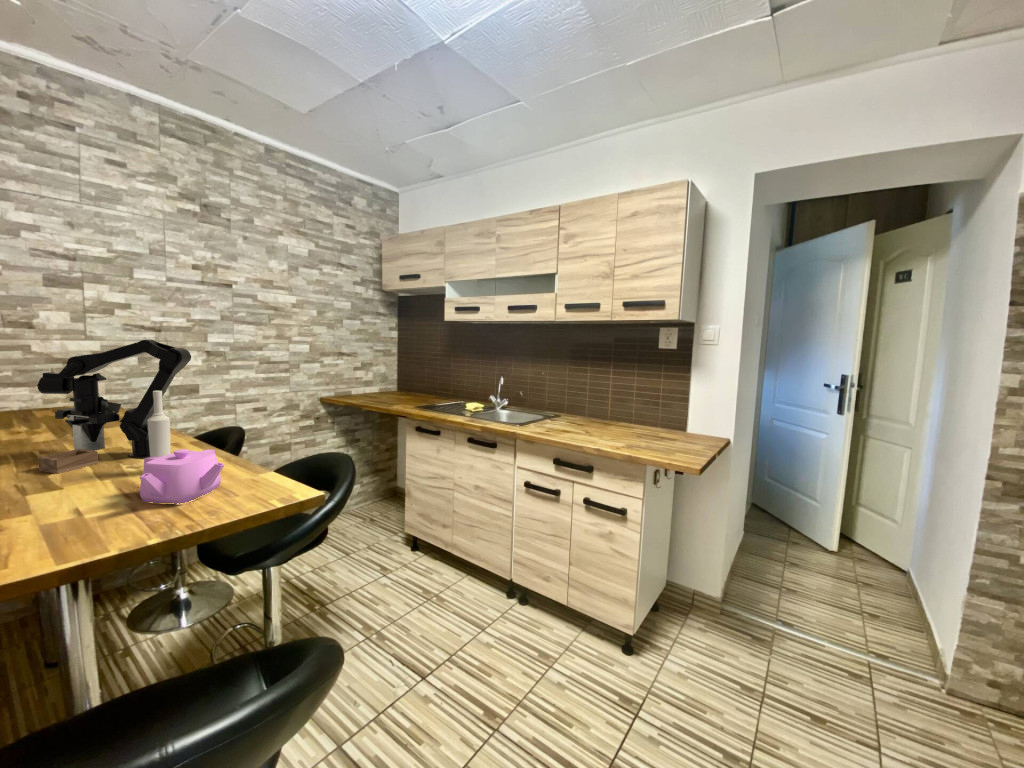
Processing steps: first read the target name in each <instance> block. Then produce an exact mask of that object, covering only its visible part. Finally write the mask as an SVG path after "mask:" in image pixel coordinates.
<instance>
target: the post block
mask: <svg viewBox="0 0 1024 768" xmlns="http://www.w3.org/2000/svg"><path fill="white" fill-rule="evenodd" d="M98 451H99V450H96V451H91V450H84V449H77V450H74V449H71V450H68V451H62V452H57V453H54V454H53V453H52V454H49V455H44V456H39V457H37V461H38V462H37V463H38V471H40V472H44V471H46V472H47V473H50V472H51V474H56V475H59V474H63V473H66V472H71V471H74V470H79V469H83V468H86V466H87V467H90V465H91V466H94V465H93V464H95V465H98V464H99V455H98ZM97 463H98V464H97ZM82 467H83V468H82ZM46 472H45V473H46Z"/></svg>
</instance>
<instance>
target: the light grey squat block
mask: <svg viewBox="0 0 1024 768" xmlns="http://www.w3.org/2000/svg"><path fill="white" fill-rule="evenodd" d="M72 426H73V429H72V434H73V435H72V439H73V450H77V449H84V450H91V451H99V450H100V451H101V450H104V449H106V444H105V443H106V441H105V430H104V426H105V424H104V425H103V426H102V428H101V431H100V433H99V436H98V438H97V441H96V442H91V440H90V438H89V436H88V434H87V432H86V430H85V428H84V426H83V424H82V423H81V424H75V425H72Z"/></svg>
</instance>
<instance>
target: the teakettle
mask: <svg viewBox="0 0 1024 768" xmlns="http://www.w3.org/2000/svg"><path fill="white" fill-rule="evenodd" d="M224 467H225V463H222V462H219V461H218V458H217V455H216V450H215V449H207V448H206V449H205V450H201V451H199V450H190V449H187V448H182V449H175V450H174V451H173V452H172V453H171V454H169V455H165V456H162V457H146V458H143V469H142V475H140V476H139V479H140V488H139V492H140V498H141V500H142V502H143V501H144V502H153V503H174V504H177V503H179V504H180V503H185V502H189V501H191V500H194V499H196V498H198V497H200V496H202V495H205V494H207V493H209V492H211V491H212V490H214V489H216V488H217V487H220V485H221V481H222V478H221V477H222V476H221V472H222V470H223V469H224ZM216 490H217V489H216ZM211 493H212V492H211ZM209 494H210V493H209ZM144 502H143V503H144Z"/></svg>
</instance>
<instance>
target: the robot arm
mask: <svg viewBox="0 0 1024 768" xmlns="http://www.w3.org/2000/svg"><path fill="white" fill-rule="evenodd" d="M146 353H147V354H149V355H150V356H152V357H154V358H156V359H158V371H157V373H156V374H155V376H154V378H153V379H152V381H151V383H150V385H148V386H149V387H148V388H147V390H146V391H145V393H144V395H143V396H142V399H141V400H140V402H139V403H138V405H137V406H136V407H135V408H131V409H128V410H125V412H124V413H123V417H122V418H121V419H120V417H121V416H120V410H121V407H122V404H121V403H119V402H117V403H116V402H111V401H108V399H106V398H104V396H100V394H99V392H100V391H99V382H101V381H106V380H107V377H105V376H103V375H102V374H101V373H99V372H98V371H100V370H103V369H105V368H107V367H108V366H109V365H111V364H113V363H116V362H119V361H123V360H125V359H129V358H133V357H136V356H140V355H143V354H146ZM191 359H192V355H191V353H190V352H189V350H188V349H186V348H183V347H174V346H172V345H168V344H165V343H162V342H159V341H156V340H154V339H141V340H139V341H136V342H134V343H131V344H127V345H123V346H120V347H116V348H113V349H110V350H107V351H103V352H98V353H90V354H83V355H76V356H75V355H74V356H71V357H69V358H68V359H67V362H66V365H65V366H64V367H63V368H62V370H60V371H59V372H53V371H52V372H51V371H50V372H49V371H48V372H43V373H42V377H40V379H39V381H38V383H37V389H38V392H40V393H41V394H43V395H68V394H71V393H72V395H73V396H72V397H69V402H73V407H70V408H62V409H61V408H59V409H57V410H56V411H55V412H54V419H57V420H58V419H59V420H64V419H65V418H67V419H65V420H64V422H65V423H67V424H68V425H69V426H70V428H71V429H72V430H73V426H72V425H75V424H81V423H82V424H83V426H84V428H85V430H86V432H87V434H88V436H89V438H90V440H91V442H96V441H97V438H98V436H99V433H100V431H101V428H102V426H103V425H104V426H105V424H108V423H114V422H119V423H120V424H119V428H120V430H121V432H122V433H123V434H124V435H125V436H126V439H127V441H130V442H131V452H132V453H130V454H127V457H130V458H137V459H146V458H149V457H150V448H149V436H148V423H147V420H148V419H149V418H150V417H151V416H153V413H154V399H153V391H162V398H163V397H164V396H165V393H166V391H167V390H168V388H169V387H170V384H171V383H172V382H173V380H174V378H175V376H176V375H177V374H178V373H179V372H181V370H183V369H184V368H185V367H186V366H187V365H188V364H189V363H190V362H191ZM91 373H93V374H92V375H89V374H91ZM87 374H88V375H87Z"/></svg>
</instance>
